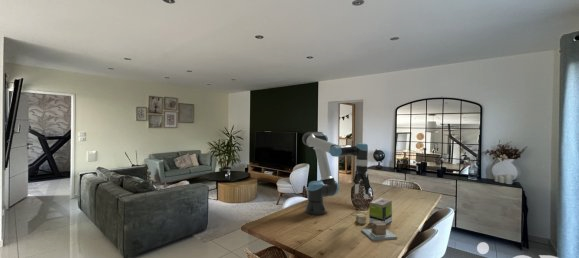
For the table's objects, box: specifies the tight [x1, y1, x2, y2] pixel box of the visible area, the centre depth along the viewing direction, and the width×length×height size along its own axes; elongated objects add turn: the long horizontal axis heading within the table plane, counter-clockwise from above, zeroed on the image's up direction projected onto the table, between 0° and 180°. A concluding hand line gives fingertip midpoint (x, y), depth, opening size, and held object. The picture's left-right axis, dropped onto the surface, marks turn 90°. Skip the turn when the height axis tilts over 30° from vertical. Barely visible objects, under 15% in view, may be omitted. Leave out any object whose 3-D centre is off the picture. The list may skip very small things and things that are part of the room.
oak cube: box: [355, 213, 367, 225], centre depth 175 cm, size 5×5×5 cm
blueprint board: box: [360, 227, 398, 241], centre depth 155 cm, size 14×16×1 cm
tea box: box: [368, 197, 393, 225], centre depth 176 cm, size 15×10×15 cm
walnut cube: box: [371, 221, 387, 235], centre depth 155 cm, size 6×6×6 cm
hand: (361, 195), depth 175 cm, fingers open, 13 cm apart
